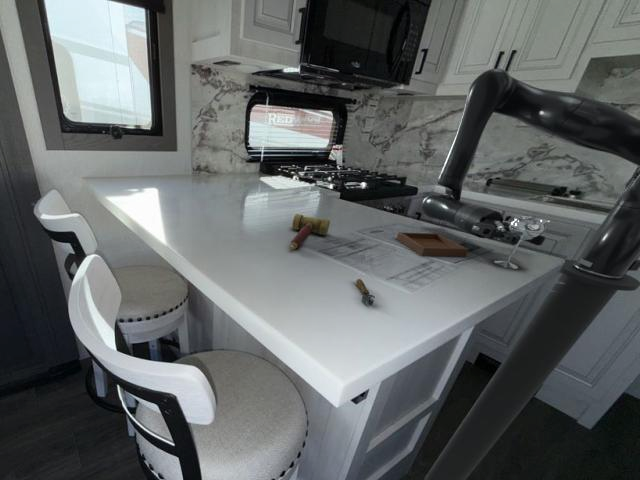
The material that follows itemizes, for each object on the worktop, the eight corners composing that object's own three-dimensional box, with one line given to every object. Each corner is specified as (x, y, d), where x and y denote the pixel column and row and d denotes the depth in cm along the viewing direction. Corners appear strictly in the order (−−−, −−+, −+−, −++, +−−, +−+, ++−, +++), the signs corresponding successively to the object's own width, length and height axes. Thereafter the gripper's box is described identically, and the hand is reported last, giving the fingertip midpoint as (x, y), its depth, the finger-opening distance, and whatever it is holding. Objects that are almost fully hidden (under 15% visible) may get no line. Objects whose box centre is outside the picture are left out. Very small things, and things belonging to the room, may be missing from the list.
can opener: (355, 283, 63) (356, 278, 63) (366, 284, 63) (368, 279, 62) (363, 305, 56) (365, 300, 55) (377, 307, 55) (378, 302, 55)
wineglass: (488, 264, 78) (513, 217, 72) (491, 257, 82) (514, 212, 76) (521, 272, 74) (550, 224, 68) (522, 265, 79) (550, 218, 73)
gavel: (313, 243, 73) (274, 235, 76) (310, 260, 75) (272, 252, 79) (330, 217, 89) (297, 211, 92) (327, 232, 91) (295, 226, 95)
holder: (435, 240, 92) (438, 233, 91) (465, 256, 81) (468, 249, 80) (396, 238, 91) (398, 232, 90) (421, 255, 80) (424, 248, 79)
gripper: (459, 205, 84) (511, 224, 70) (506, 208, 86) (566, 226, 71) (448, 232, 88) (495, 255, 74) (493, 233, 89) (547, 256, 75)
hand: (529, 241), depth 73 cm, fingers closed on wineglass, 6 cm apart
